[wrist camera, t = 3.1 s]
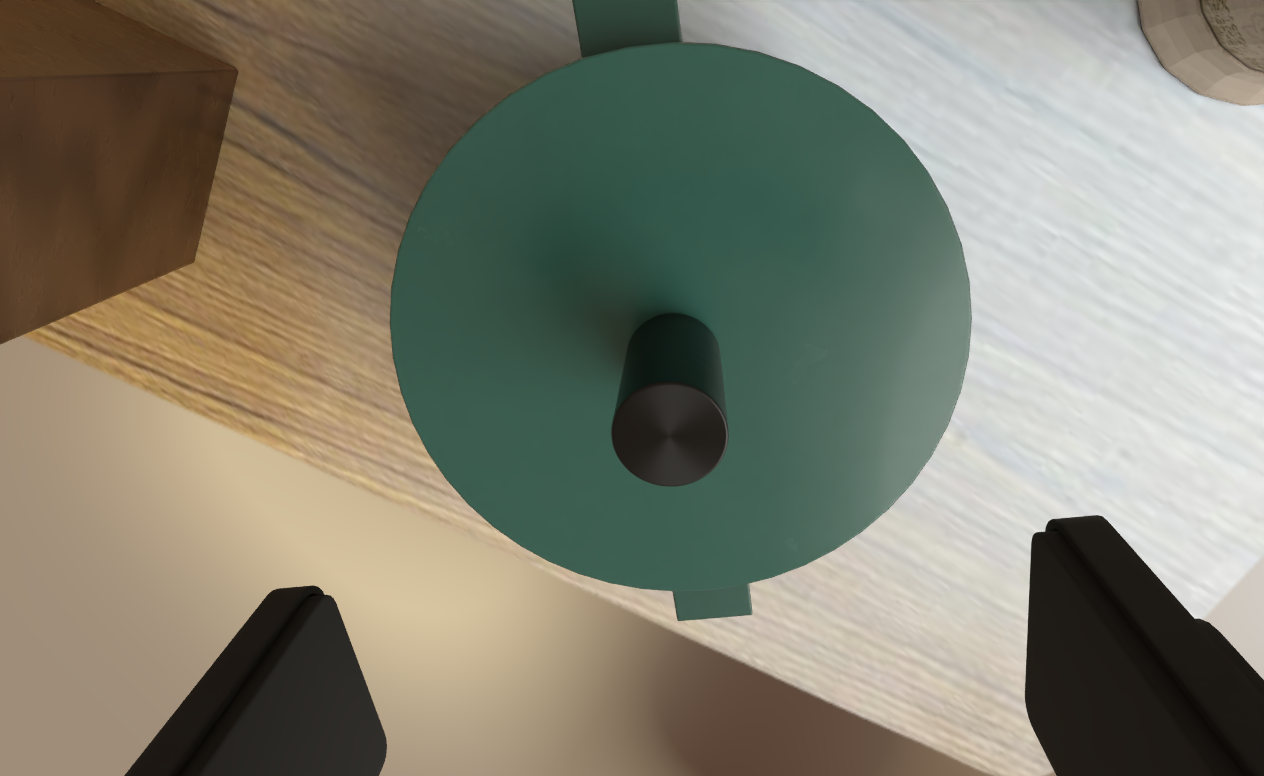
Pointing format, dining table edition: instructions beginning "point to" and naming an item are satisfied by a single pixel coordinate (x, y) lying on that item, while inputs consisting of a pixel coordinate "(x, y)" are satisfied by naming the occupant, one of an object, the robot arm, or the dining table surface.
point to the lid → (680, 316)
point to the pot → (607, 20)
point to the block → (98, 156)
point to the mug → (1210, 45)
